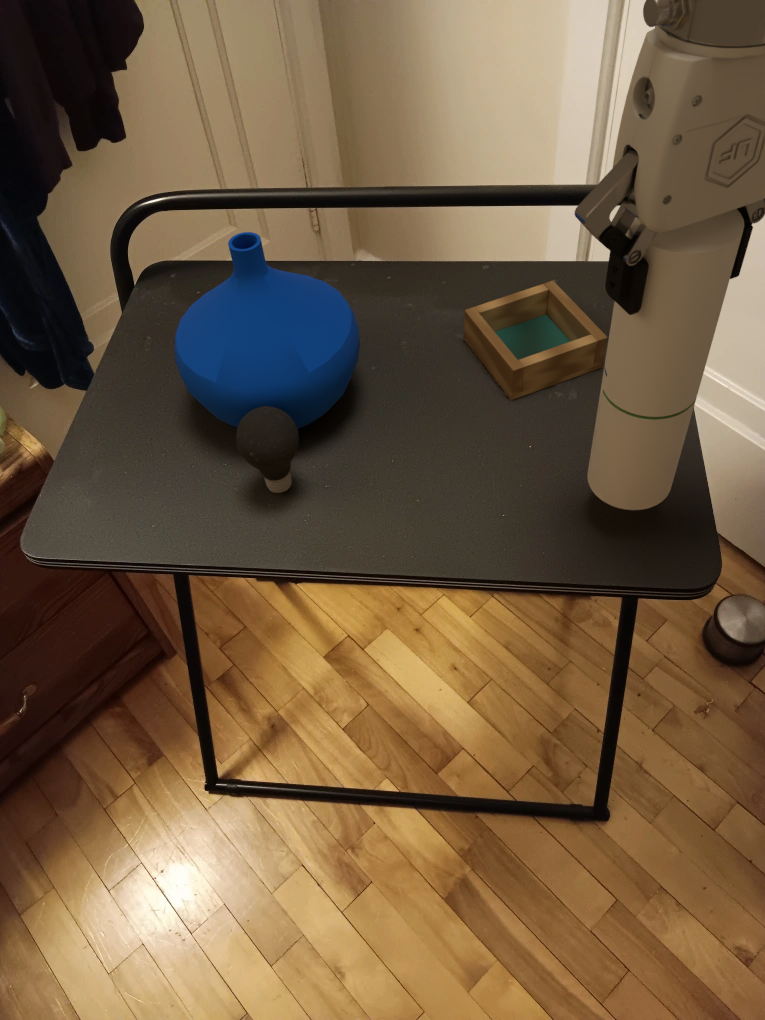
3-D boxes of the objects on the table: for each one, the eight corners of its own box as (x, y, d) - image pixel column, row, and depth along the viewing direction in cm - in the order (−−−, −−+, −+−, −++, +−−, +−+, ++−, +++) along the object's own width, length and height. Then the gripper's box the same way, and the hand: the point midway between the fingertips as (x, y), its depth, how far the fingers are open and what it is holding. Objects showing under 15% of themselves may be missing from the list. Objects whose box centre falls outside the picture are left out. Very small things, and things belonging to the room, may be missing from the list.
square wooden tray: (549, 310, 94) (552, 280, 91) (602, 367, 88) (607, 337, 84) (463, 339, 92) (464, 309, 89) (511, 400, 86) (513, 370, 82)
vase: (200, 350, 94) (152, 196, 79) (360, 334, 94) (342, 176, 79) (188, 471, 82) (129, 317, 68) (371, 452, 82) (352, 294, 67)
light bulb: (252, 470, 82) (230, 396, 74) (308, 463, 82) (292, 389, 74) (251, 514, 78) (229, 442, 71) (310, 507, 78) (294, 434, 71)
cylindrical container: (666, 449, 74) (734, 189, 55) (676, 511, 69) (753, 252, 50) (585, 448, 75) (623, 192, 56) (589, 509, 70) (632, 254, 51)
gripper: (631, 67, 39) (591, 357, 53) (923, -19, 42) (813, 275, 56) (550, 15, 44) (532, 295, 57) (819, -59, 47) (741, 222, 61)
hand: (671, 283), depth 57 cm, fingers closed on cylindrical container, 7 cm apart
